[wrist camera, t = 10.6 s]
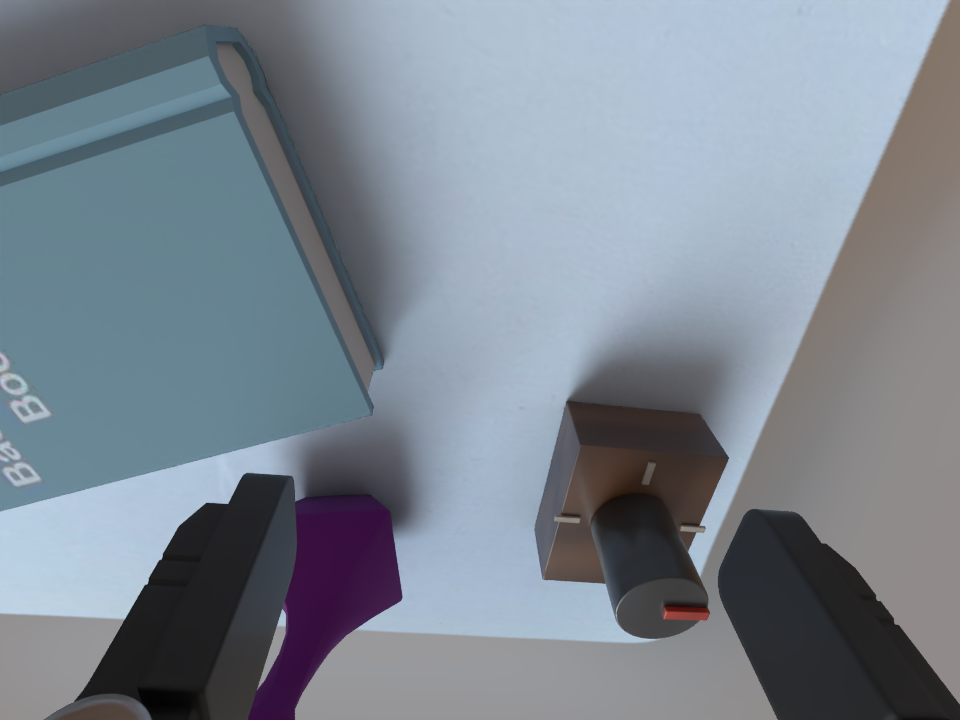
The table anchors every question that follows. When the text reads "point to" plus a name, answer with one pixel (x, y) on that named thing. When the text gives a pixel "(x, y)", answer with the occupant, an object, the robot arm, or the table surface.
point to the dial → (647, 568)
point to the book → (163, 272)
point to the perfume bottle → (329, 591)
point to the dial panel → (621, 478)
